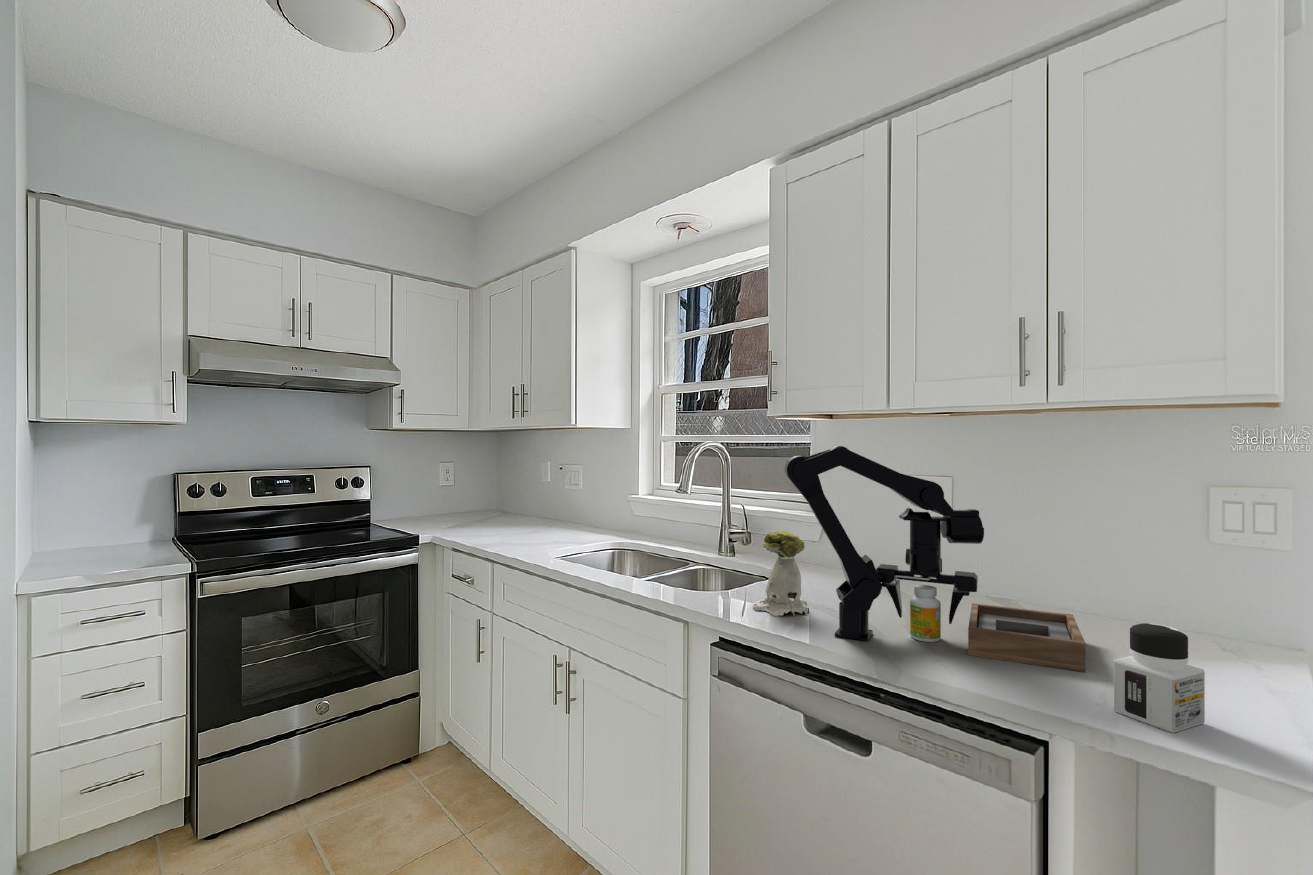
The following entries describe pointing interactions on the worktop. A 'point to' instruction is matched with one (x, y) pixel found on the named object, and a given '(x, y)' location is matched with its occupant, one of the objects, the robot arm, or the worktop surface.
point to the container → (1159, 680)
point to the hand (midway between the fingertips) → (925, 620)
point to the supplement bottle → (925, 614)
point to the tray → (1026, 637)
